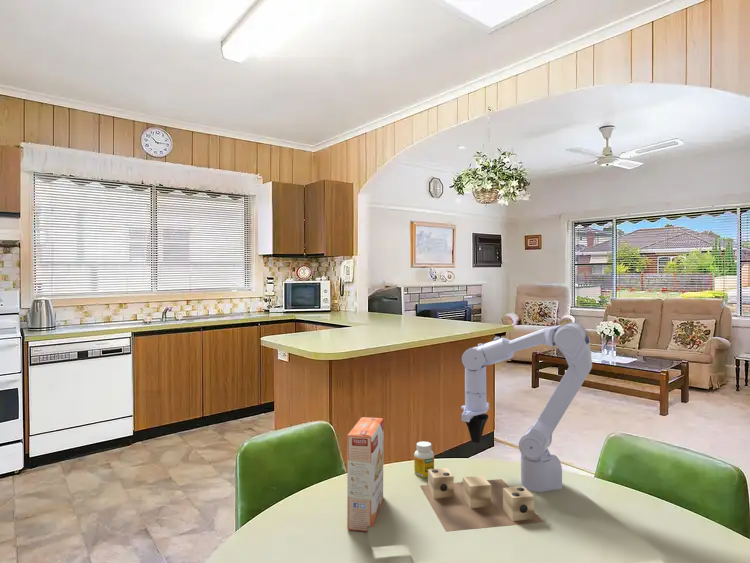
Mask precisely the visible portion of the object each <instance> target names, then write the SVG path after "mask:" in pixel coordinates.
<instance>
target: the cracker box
mask: <svg viewBox="0 0 750 563" xmlns="http://www.w3.org/2000/svg"><path fill="white" fill-rule="evenodd" d="M384 423H385V421H384V418H383V417H369V416H368V417H365V416H362V417H360V418H359V420H358V421H357V423H356V424H355V425H354V426H353V428H352V429H351V430H350V431H349V433H348V434H347V445H346V446H347V466H346V467H347V469H346V470H347V476H346V477H347V480H346V481H347V482H346V484H347V485H346V486H347V490H346V491H347V492H346V493H347V494H346V496H347V502H346V503H347V504H346V505H347V506H346V508H347V513H346V515H347V516H346V517H347V518H346V520H347V522H346V524H347V525H346V526H347V527H346V528H347V530H348V531H357V532H366V533H367V532H369V530H368V527H373V525H374V522H375V520H376V518H377V516H378V512H379V510H380V508H381V505H382V503H383V501H384V500H383V499H384V435H385V434H384Z"/></svg>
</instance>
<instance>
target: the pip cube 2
mask: <svg viewBox="0 0 750 563" xmlns="http://www.w3.org/2000/svg"><path fill="white" fill-rule="evenodd" d="M503 510H504V512H505V513H506V514H507V515H508V516H509V517H510V518H511V520H512V521H519V520H529V519H534V512H535V495H533V493H531V492H530V490H528V489H526V488H525V487H524V486H522V485H521V486H511V487H510V486H509V488H503Z"/></svg>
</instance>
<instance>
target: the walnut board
mask: <svg viewBox="0 0 750 563" xmlns="http://www.w3.org/2000/svg"><path fill="white" fill-rule="evenodd" d="M486 480H487V481H488V482H489V483H490V484H491V506H490V507H479V508H470V507H469V506H468V504H467V503H466V501H465V500H464V499H463V481H460V482H454V497H447V498H435V499H434V498H433V497H432V495H431V493H430V492H429V490H428V484H422V485H419V486H420V489H421V490H422V492H423V494H424V496H425V497H426V499H427V500H428V502H429V504H430V506H431V508H432V510H433V512H434V513H435V515H436V517H437V519H438V520H439V522H440V524H441V525H442V528H443V529H444V531H445V532H453V531H464V530H466V531H467V530H476V529H487V528H497V527H507V526H519V525H520V526H521V525H529V524H539V523H545V521H544V520H543V519H542V518H541V517H540V516H539V515H538V514H537V513H536V512H535V511H534V519H529V520H519V521H512V520H511V518H510V517H509V516H508V515H507V514H506V513H505V512H504V510H503V488H509V487H510V486H509V485H508V484H507V483H506V482H505V481H504V480H503V479H502V478H501V479H500V478H498V479H497V478H496V479H486Z"/></svg>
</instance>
